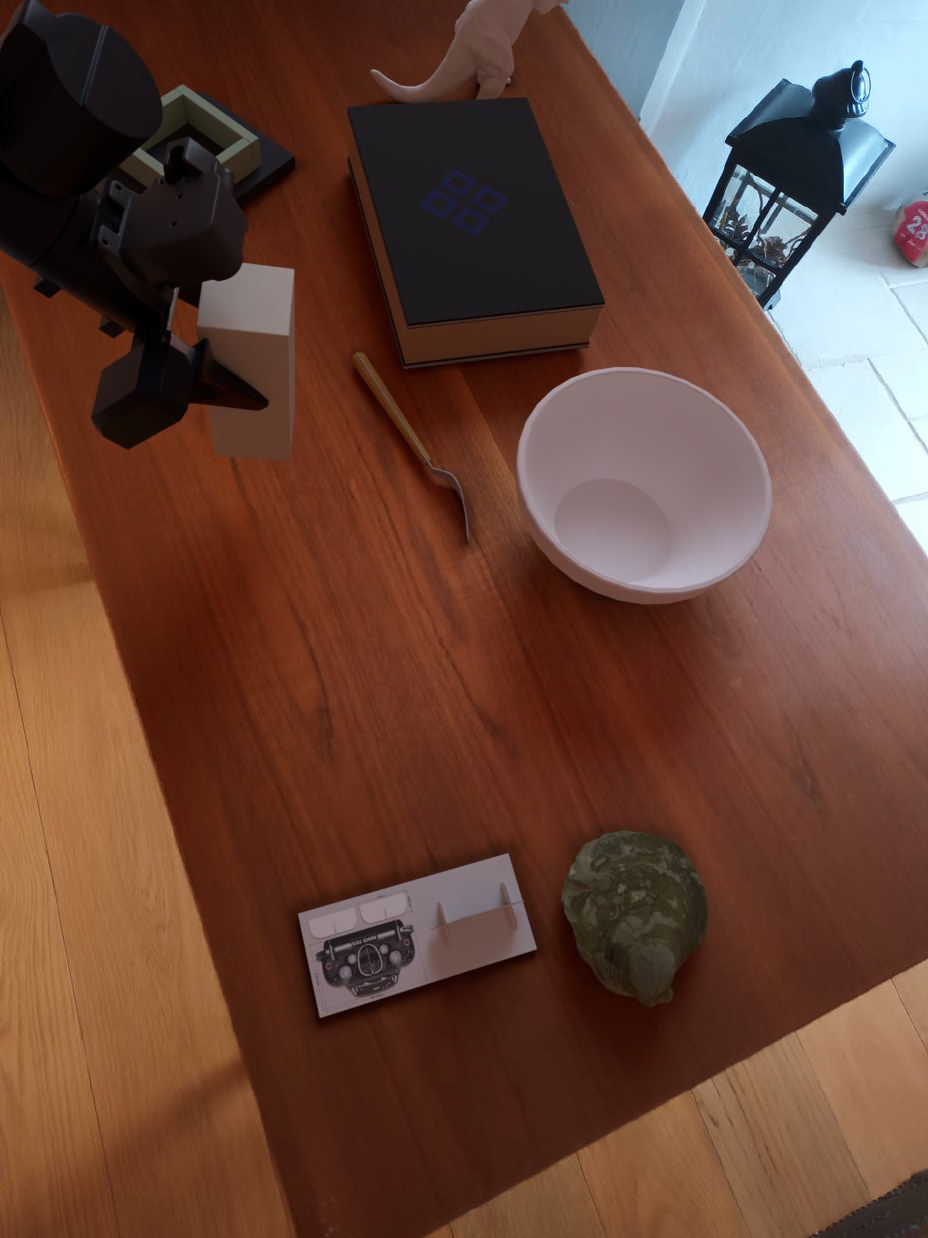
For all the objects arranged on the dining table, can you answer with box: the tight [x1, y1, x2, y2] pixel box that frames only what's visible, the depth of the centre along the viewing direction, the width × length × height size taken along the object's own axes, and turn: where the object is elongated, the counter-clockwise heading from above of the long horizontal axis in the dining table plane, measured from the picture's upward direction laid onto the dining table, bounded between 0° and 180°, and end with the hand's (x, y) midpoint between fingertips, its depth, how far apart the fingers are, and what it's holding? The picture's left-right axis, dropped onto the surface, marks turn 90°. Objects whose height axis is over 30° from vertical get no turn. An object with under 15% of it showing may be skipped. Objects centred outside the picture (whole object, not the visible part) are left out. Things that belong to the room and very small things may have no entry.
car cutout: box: [297, 852, 538, 1019], centre depth 57 cm, size 15×7×4 cm, turn 106°
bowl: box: [514, 366, 774, 605], centre depth 69 cm, size 20×20×10 cm
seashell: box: [560, 829, 709, 1008], centre depth 60 cm, size 10×7×10 cm
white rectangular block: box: [195, 262, 296, 463], centre depth 59 cm, size 5×5×14 cm
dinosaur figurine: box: [369, 0, 570, 104], centre depth 84 cm, size 20×10×15 cm, turn 108°
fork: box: [351, 351, 470, 544], centre depth 73 cm, size 2×2×20 cm
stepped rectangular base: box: [107, 84, 296, 208], centre depth 80 cm, size 16×12×4 cm
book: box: [346, 96, 606, 371], centre depth 79 cm, size 17×25×7 cm
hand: (269, 372), depth 59 cm, fingers closed on white rectangular block, 5 cm apart
